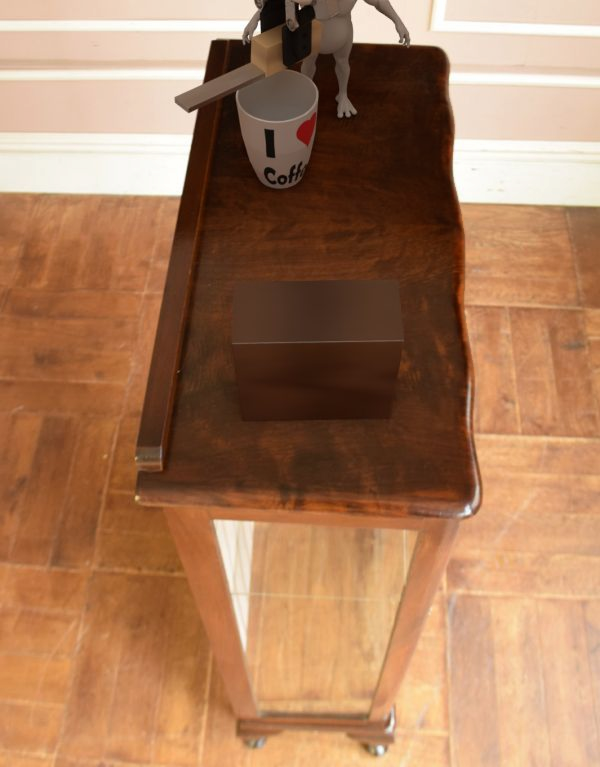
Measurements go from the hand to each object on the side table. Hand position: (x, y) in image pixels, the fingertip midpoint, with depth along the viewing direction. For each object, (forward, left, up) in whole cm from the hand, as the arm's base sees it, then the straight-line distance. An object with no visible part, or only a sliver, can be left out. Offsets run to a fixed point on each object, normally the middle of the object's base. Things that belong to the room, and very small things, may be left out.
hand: (286, 51), depth 73 cm
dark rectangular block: (+18, +23, -14) cm, 32 cm away
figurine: (-9, -4, -14) cm, 18 cm away
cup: (+1, 0, -14) cm, 14 cm away
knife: (+5, 0, 0) cm, 5 cm away
